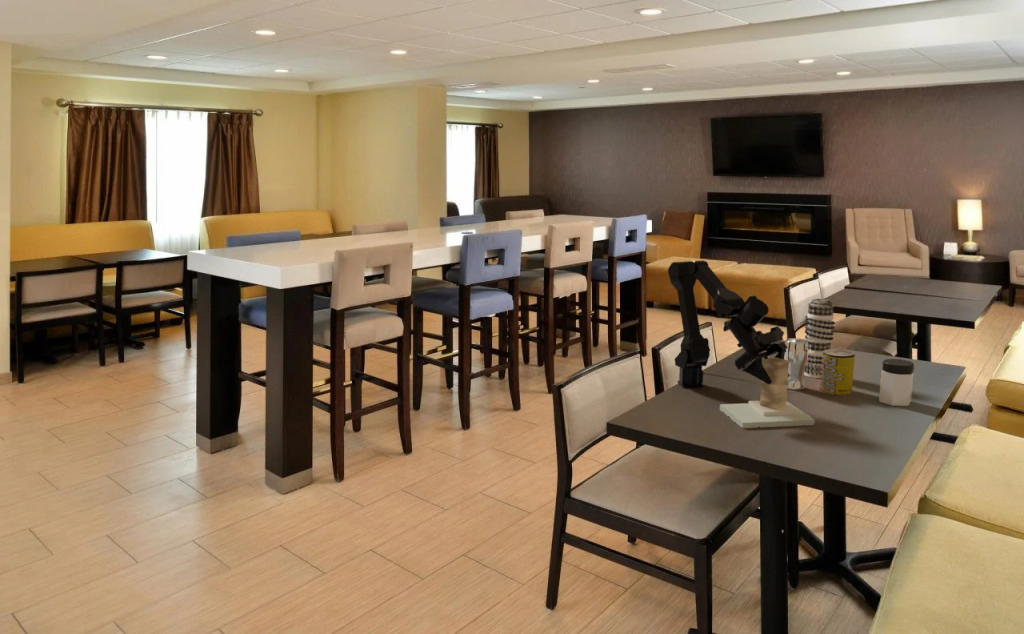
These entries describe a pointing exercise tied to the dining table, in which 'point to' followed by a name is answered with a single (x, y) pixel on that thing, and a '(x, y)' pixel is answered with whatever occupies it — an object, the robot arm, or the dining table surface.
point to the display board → (765, 415)
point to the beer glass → (796, 362)
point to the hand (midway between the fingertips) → (779, 380)
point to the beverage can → (837, 371)
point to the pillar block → (775, 383)
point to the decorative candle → (818, 334)
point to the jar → (896, 382)
